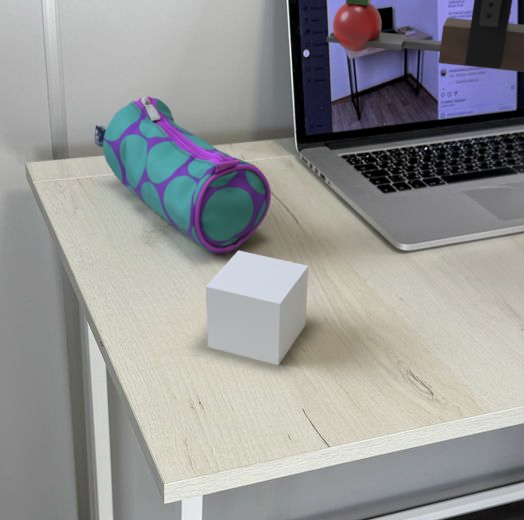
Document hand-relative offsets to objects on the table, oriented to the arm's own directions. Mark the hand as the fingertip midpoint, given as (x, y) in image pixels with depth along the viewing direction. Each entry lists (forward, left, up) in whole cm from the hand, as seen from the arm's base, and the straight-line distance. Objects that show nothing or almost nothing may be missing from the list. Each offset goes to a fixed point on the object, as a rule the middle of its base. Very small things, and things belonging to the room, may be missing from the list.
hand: (484, 58), depth 71 cm
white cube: (+13, +18, -19) cm, 29 cm away
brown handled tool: (+3, 0, 0) cm, 3 cm away
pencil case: (+27, 0, -19) cm, 33 cm away
